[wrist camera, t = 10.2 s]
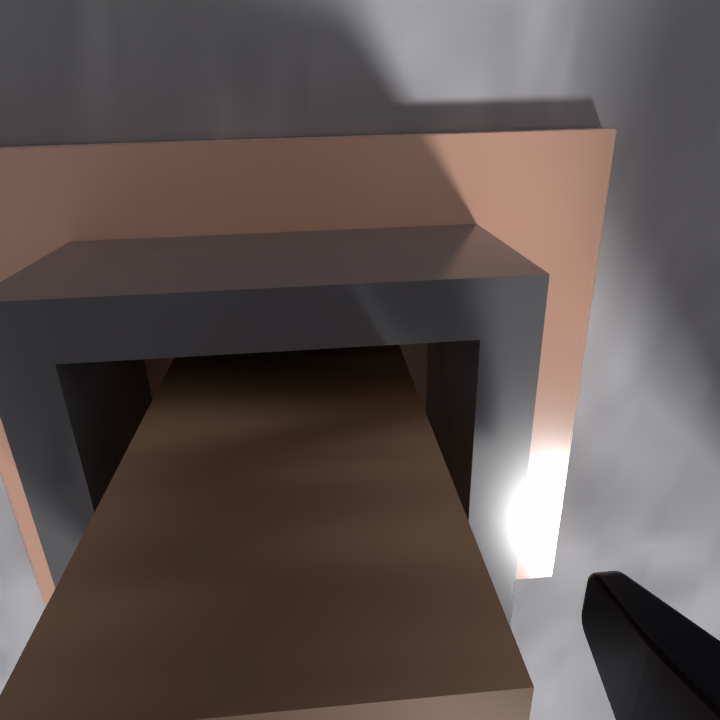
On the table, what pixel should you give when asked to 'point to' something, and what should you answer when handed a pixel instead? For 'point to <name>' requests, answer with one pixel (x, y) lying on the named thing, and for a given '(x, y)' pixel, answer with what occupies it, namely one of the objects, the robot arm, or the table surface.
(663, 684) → the robot arm
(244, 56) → the table surface
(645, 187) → the table surface
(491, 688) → the walnut pin
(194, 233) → the socket housing
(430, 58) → the table surface
